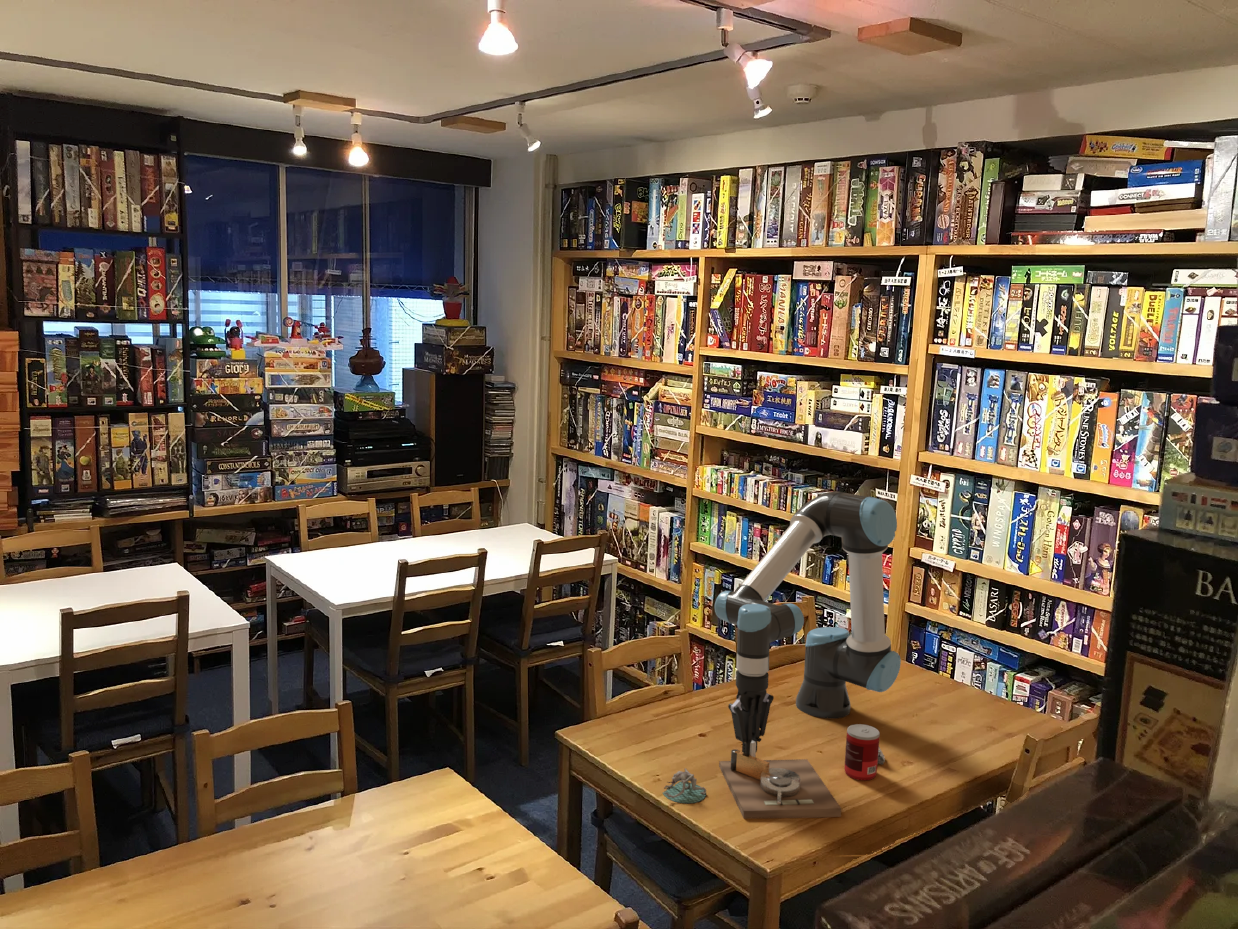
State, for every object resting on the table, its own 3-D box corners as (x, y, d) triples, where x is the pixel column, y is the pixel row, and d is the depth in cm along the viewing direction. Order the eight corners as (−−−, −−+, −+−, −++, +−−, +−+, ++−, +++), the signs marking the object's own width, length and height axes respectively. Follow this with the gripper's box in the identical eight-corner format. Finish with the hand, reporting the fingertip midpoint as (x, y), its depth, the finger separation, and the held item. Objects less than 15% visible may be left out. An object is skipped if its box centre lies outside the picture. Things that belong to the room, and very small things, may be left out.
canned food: (877, 769, 234) (880, 726, 232) (875, 783, 226) (879, 739, 225) (845, 764, 236) (848, 721, 234) (842, 778, 228) (845, 734, 227)
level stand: (718, 769, 231) (719, 760, 231) (806, 767, 234) (807, 758, 233) (743, 819, 207) (744, 809, 207) (840, 816, 210) (841, 807, 210)
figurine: (648, 789, 220) (649, 764, 219) (694, 781, 225) (695, 756, 224) (669, 812, 210) (670, 786, 209) (717, 804, 214) (718, 778, 213)
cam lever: (712, 778, 221) (713, 760, 221) (741, 762, 230) (742, 744, 230) (779, 806, 210) (780, 786, 209) (807, 787, 219) (808, 768, 218)
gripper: (760, 661, 229) (756, 753, 232) (721, 672, 221) (718, 768, 224) (783, 670, 223) (779, 765, 226) (744, 682, 215) (740, 780, 218)
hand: (749, 766), depth 225 cm, fingers closed
